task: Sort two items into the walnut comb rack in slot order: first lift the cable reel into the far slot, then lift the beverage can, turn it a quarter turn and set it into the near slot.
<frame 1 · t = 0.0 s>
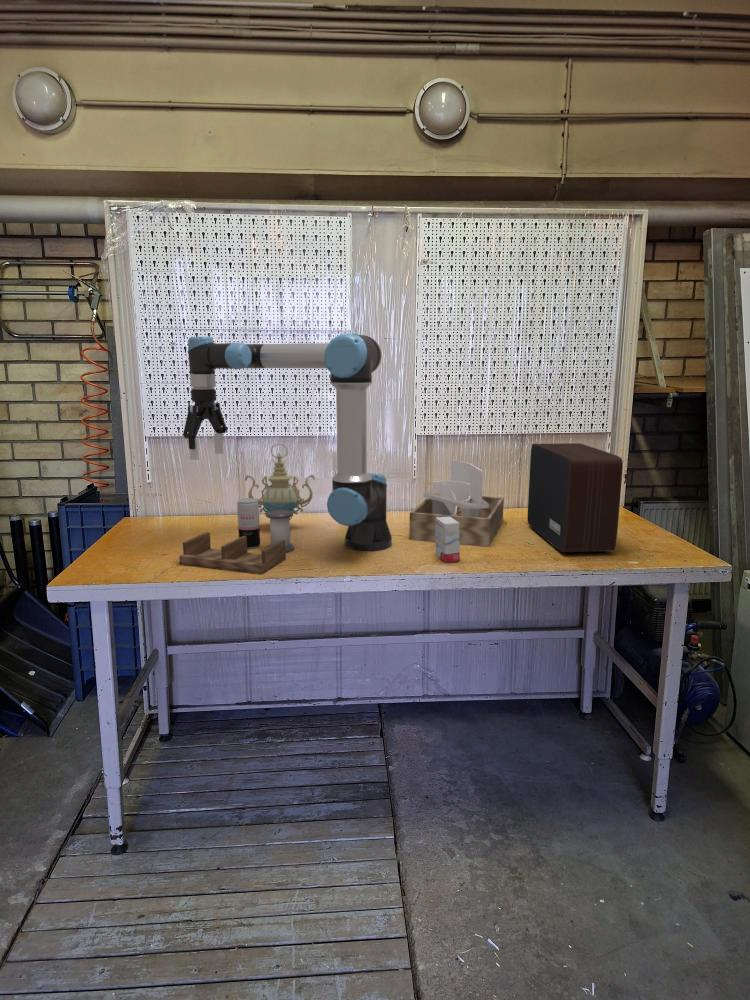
hand: (207, 456, 197), 28 cm above the table, fingers open, 13 cm apart
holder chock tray: (458, 530, 216), on the table
cable reel: (280, 549, 194), on the table
ornate lidded vase: (281, 529, 218), on the table
ink box: (446, 558, 185), on the table
comb rack: (233, 561, 182), on the table
beverage can: (249, 546, 198), on the table
brown wooden speaker: (569, 540, 204), on the table
architectural model: (458, 532, 216), resting in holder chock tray
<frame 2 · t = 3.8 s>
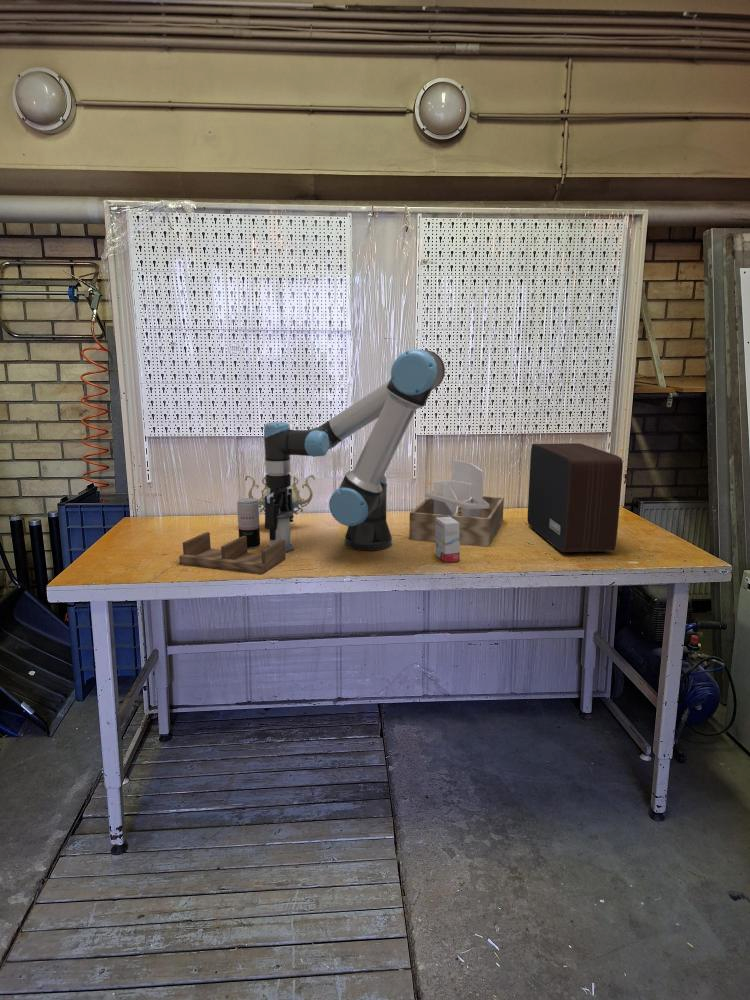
hand: (280, 545, 194), 1 cm above the table, fingers closed on cable reel, 7 cm apart
cable reel: (280, 549, 194), on the table, touching gripper
when the fingers open (3 cm above the table, at t = 9.3 s): cable reel stays where it is, resting on comb rack.
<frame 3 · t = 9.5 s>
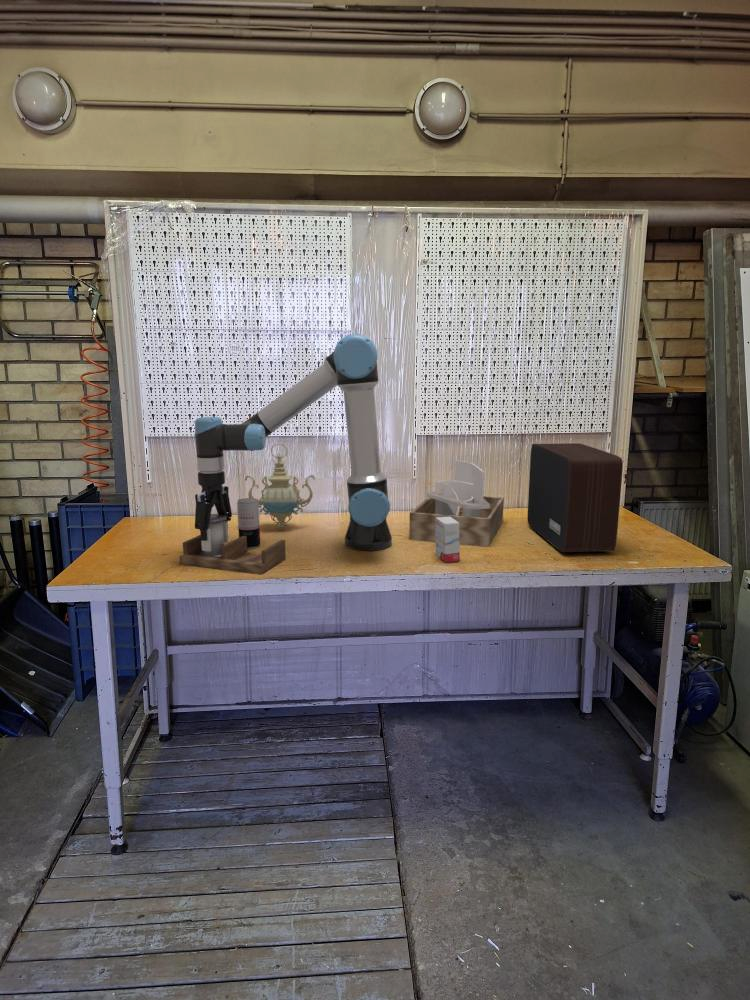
hand: (215, 546, 184), 4 cm above the table, fingers open, 8 cm apart
cable reel: (214, 555, 185), point 1 cm above the table, touching comb rack
architectural model: (460, 532, 216), resting in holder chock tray
everything else where it was.
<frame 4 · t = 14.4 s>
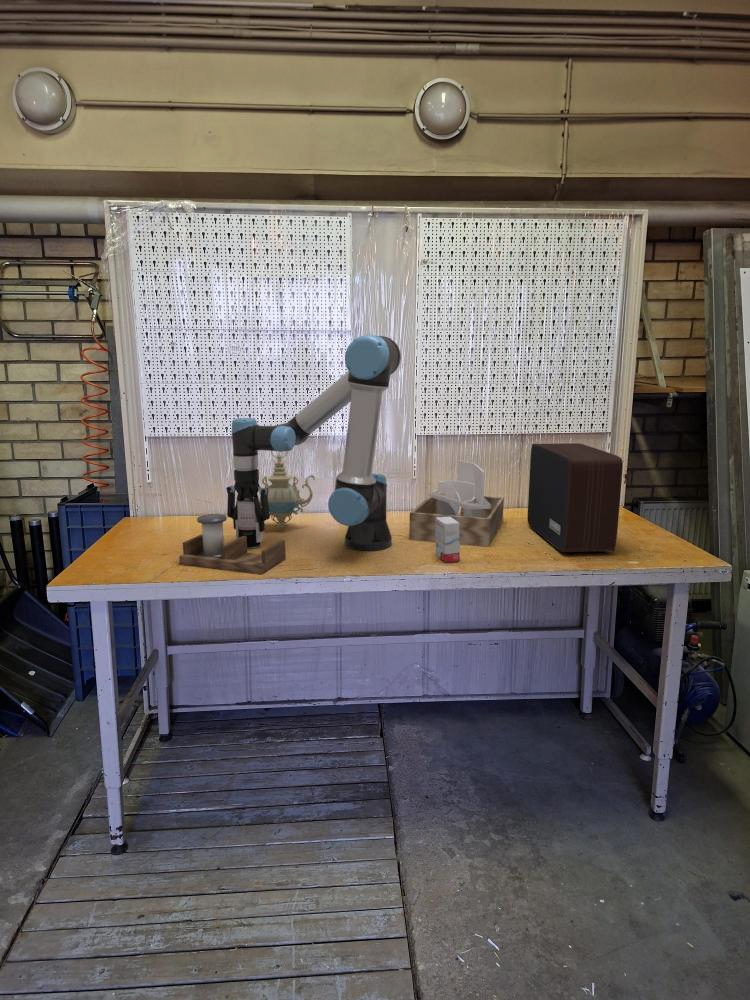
hand: (249, 540, 197), 2 cm above the table, fingers closed on beverage can, 6 cm apart
beverage can: (249, 546, 198), on the table, touching gripper
when the fingers open (4 cm above the table, at t = 19.4 s): beverage can drops 2 cm, resting on comb rack.
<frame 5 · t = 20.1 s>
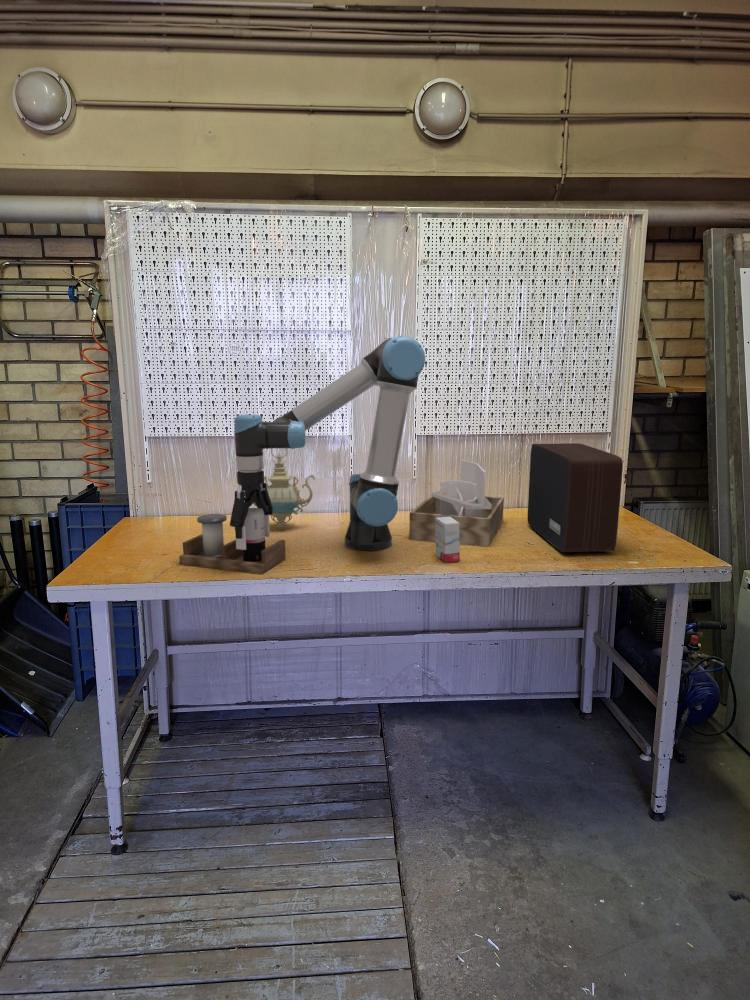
hand: (253, 542, 180), 6 cm above the table, fingers open, 13 cm apart
beverage can: (254, 561, 181), point 1 cm above the table, touching comb rack
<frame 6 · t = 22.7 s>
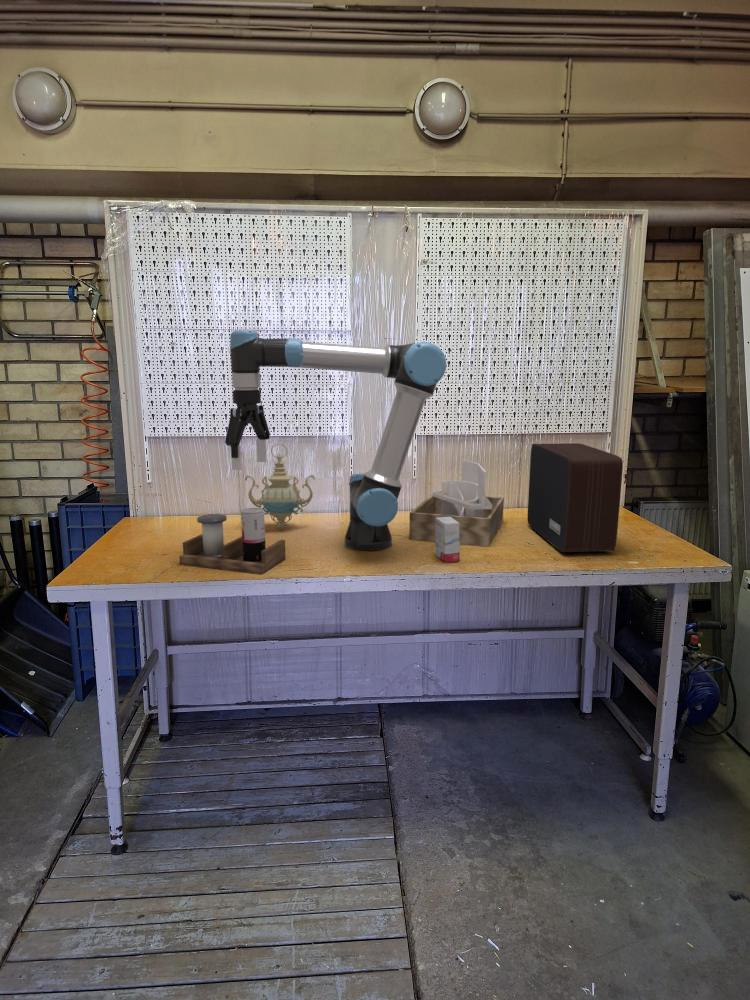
hand: (250, 465, 175), 29 cm above the table, fingers open, 13 cm apart
at the end: beverage can inside the target area on the comb rack (0.5 cm from its centre), point 0.6 cm above the comb rack's base; cable reel inside the target area on the comb rack (0.8 cm from its centre), point 0.8 cm above the comb rack's base; beverage can tilted 0° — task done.
